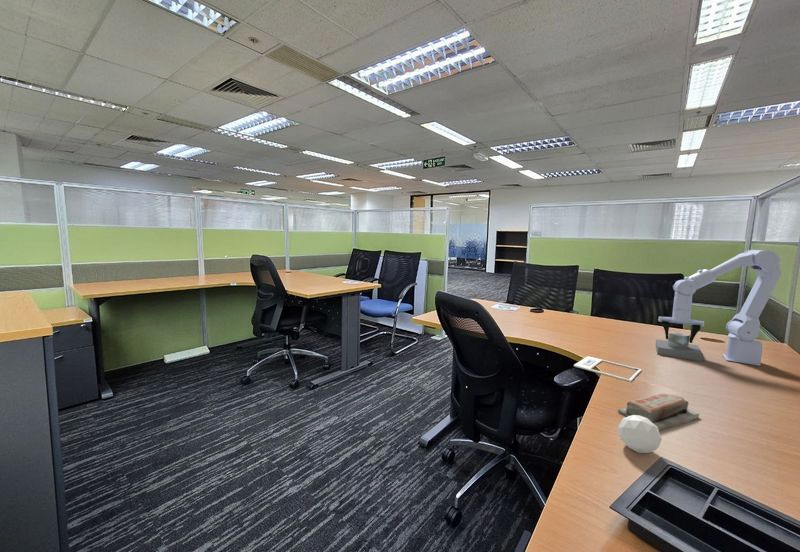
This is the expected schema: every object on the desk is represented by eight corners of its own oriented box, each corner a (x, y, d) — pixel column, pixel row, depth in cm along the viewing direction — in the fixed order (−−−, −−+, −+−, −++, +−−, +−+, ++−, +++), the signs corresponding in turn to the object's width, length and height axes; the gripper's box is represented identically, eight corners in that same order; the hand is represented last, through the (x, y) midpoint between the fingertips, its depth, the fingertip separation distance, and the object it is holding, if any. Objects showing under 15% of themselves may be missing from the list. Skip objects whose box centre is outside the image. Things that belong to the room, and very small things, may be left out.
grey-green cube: (688, 347, 138) (689, 335, 137) (682, 348, 135) (684, 337, 135) (673, 343, 142) (674, 332, 142) (667, 345, 140) (668, 333, 139)
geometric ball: (630, 454, 77) (631, 419, 80) (669, 462, 70) (669, 423, 73) (609, 443, 74) (611, 408, 78) (647, 450, 68) (648, 411, 71)
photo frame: (587, 355, 133) (641, 368, 120) (587, 358, 133) (641, 371, 120) (573, 364, 123) (630, 379, 110) (573, 367, 123) (630, 383, 110)
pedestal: (696, 352, 141) (697, 345, 140) (702, 361, 129) (703, 354, 129) (655, 345, 149) (656, 339, 148) (657, 354, 137) (657, 347, 137)
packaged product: (658, 415, 81) (618, 397, 90) (657, 433, 81) (617, 414, 90) (701, 402, 87) (660, 386, 97) (699, 419, 88) (658, 402, 97)
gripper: (703, 309, 136) (700, 341, 138) (659, 305, 144) (656, 335, 146) (706, 312, 130) (702, 345, 132) (660, 307, 139) (657, 339, 140)
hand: (678, 340), depth 138 cm, fingers open, 7 cm apart
